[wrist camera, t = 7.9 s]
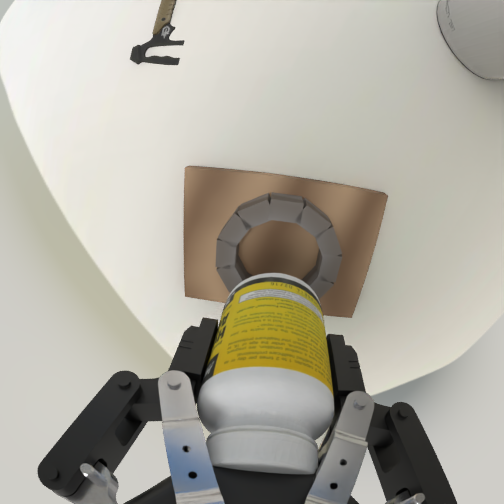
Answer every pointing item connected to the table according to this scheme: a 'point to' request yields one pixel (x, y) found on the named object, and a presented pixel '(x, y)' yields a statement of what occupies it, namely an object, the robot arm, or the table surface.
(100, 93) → the table surface
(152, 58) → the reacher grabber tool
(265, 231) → the brown panel with ring
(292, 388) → the supplement bottle
